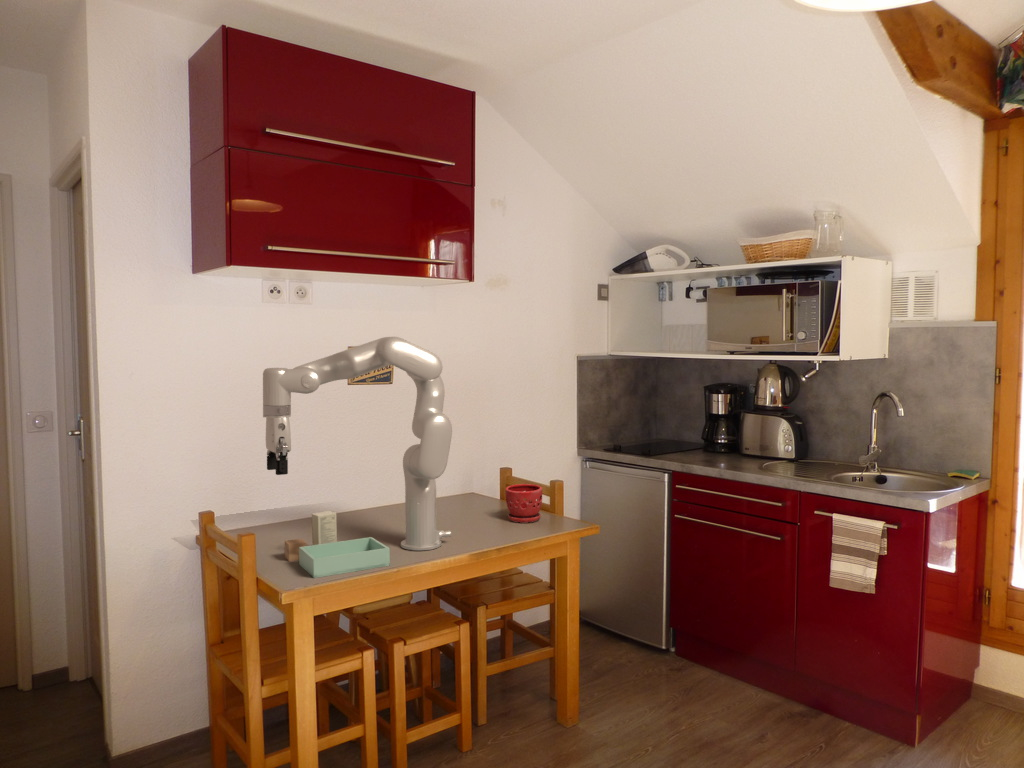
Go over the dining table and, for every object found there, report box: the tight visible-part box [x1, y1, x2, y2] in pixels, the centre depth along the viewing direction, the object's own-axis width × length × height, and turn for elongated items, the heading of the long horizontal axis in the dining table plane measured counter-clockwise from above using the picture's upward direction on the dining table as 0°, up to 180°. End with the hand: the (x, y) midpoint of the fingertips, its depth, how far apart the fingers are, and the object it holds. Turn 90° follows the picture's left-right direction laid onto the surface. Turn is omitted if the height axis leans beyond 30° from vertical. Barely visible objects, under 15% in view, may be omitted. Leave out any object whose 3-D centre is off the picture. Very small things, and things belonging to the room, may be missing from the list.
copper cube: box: [284, 538, 307, 562], centre depth 218 cm, size 5×5×5 cm
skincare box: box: [311, 510, 338, 545], centre depth 224 cm, size 6×4×12 cm
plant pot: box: [504, 483, 543, 524], centre depth 264 cm, size 13×13×12 cm
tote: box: [298, 536, 391, 579], centre depth 211 cm, size 22×15×5 cm
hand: (277, 471), depth 210 cm, fingers open, 9 cm apart
